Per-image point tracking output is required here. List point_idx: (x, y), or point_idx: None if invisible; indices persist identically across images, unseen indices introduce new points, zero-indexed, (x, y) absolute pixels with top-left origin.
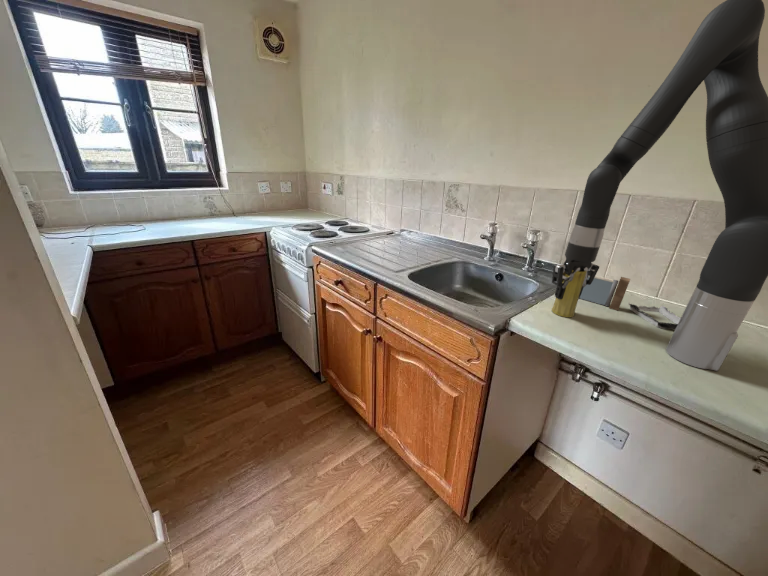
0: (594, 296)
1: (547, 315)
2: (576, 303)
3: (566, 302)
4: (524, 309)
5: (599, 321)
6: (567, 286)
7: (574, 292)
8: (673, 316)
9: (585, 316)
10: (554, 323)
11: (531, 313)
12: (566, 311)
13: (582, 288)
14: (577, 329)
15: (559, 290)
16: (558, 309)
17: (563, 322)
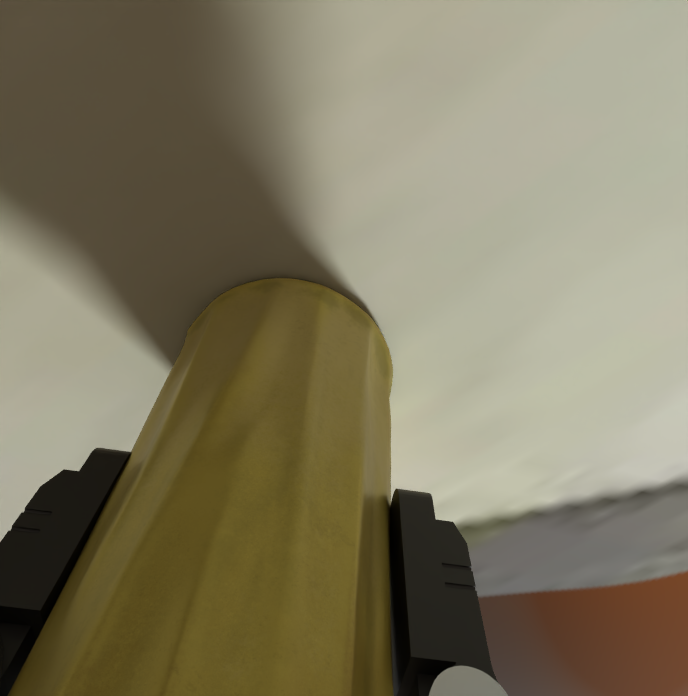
0: None
1: (492, 379)
2: (202, 378)
3: (367, 424)
4: (584, 508)
5: (2, 96)
6: (379, 692)
7: (297, 529)
8: None
9: (89, 244)
10: (601, 238)
11: (602, 446)
12: (345, 337)
13: (9, 583)
14: (487, 31)
15: (484, 634)
16: (388, 396)
17: (479, 223)
